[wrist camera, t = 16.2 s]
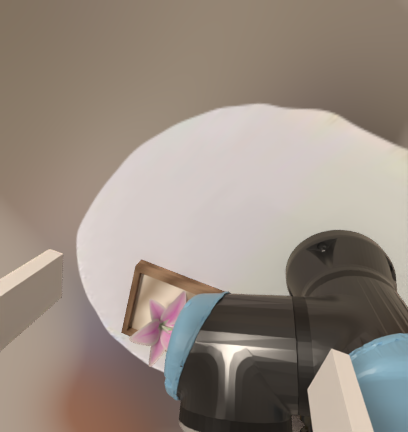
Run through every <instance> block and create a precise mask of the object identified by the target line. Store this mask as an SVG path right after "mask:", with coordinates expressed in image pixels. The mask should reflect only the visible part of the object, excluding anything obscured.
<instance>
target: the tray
mask: <svg viewBox="0 0 408 432" xmlns="http://www.w3.org/2000/svg"><path fill="white" fill-rule="evenodd" d="M183 291H185V292H186V303H187V302H188V300H189V299H191V298H192V297H193V296H195V295H198V294H203V293H222V292H224V291H222V290H219V289H216V288H214V287H211V286H209V285H206V284H203V283H201V282H198V281H196V280H193V279H190V278H188V277H185V276H183V275H180V274H177V273H175V272H172V271H170V270H167V269H164V268H162V267H159V266H157V265H154V264H151V263H149V262H146V261H144V260H141V261H140V262H139V263H138V264H137V265H136V267H135V271H134V276H133V281H132V285H131V290H130V295H129V299H128V304H127V309H126V314H125V318H124V323H123V328H122V332H121V333H124V334H126V335H128V336H132V335H133V334H134V333H135V332H137V331H138V330H139V329H141V328H142V327H144V326H145V325H147V324H148V323H149V322H151V321H152V320H151V315H150V307H149V300H150V299H153V300H155V301H157V302H158V303H160V304H161V305H163V306H164V307H165V308H167V307H168V306H169V305H170V304H171V303H172V302H173V301H174V300H175V299H176V298H177V297H178V296H179V295H180V293H182V292H183ZM165 351H166V350H165ZM166 352H167V351H166Z"/></svg>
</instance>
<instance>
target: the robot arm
mask: <svg viewBox="0 0 408 432" xmlns="http://www.w3.org/2000/svg"><path fill="white" fill-rule="evenodd" d="M62 273H63V254H62V253H60V252H57V251H54V250H51V249H49V250H47V251H45V252H44V253H42V254H40V255H39V256H37V257H36V258H34V259H32V260H31V261H29V262H28V263H26V264H24V265H23V266H21V267H19V268H18V269H16V270H14V271H13V272H11V273H10V274H8V275H7V276H5V277H3V278H2V279H0V351H1V350H2V349H4V348H5V347H6V346H7V345H8V344H9V343H10V342H11V341H12V340H14V339H15V338H16V337H17V336H18V335H19V334H21V333H22V332H23V331H24V330H25V329H26V328H27V327H29V326H30V325H31V324H32V323H33V322H34V321H35V320H37V319H38V318H39V317H40V316H41V315H42V314H43V313H44V312H46V311H47V310H48V309H49V308H50V307H51V306H52V305H54V304H55V303H56V302H57V301H58V300H59V299H60V298H62V277H63V274H62ZM286 283H287V288H288V291H289V294H290V296H278V295H246V294H231V293H230V292H222V293H203V294H198V295H195V296H193V297H192V298H191V299H189V300H188V302H187V303H186V304H185V305H184V307H183V309H182V310H181V311H180V313H179V315H178V317H177V320H176V322H175V324H174V327H173V330H172V333H171V336H170V340H169V344H168V348H167V353H166V359H165V369H164V375H165V377H166V380H165V388H166V391H167V393H168V394H169V395H170V396H171V397H173V398H174V399H175V400H180V401H181V403H180V414H179V425H180V426H181V428H182V429H183V431H184V432H292V420H291V416H292V415H301V416H308V417H311V421H312V429H313V432H408V307H407V305H406V304H405V303H404V301H403V300H402V298H401V297H400V296H399V294H398V293H397V284H396V274H395V270H394V267H393V264H392V262H391V260H390V259H389V257H388V256H387V254H386V253H385V252H384V251H383V250H382V248H381V247H380V246H379V245H378V244H377V243H376V242H374V241H373V240H371V239H370V238H368V237H366V236H364V235H362V234H359V233H356V232H352V231H345V230H332V231H326V232H321V233H318V234H315V235H313V236H311V237H309V238H307V239H306V240H304V241H303V242H302V243H300V244H299V245H298V246H297V247H296V248H295V249H294V251H293V252H292V254H291V255H290V257H289V259H288V262H287V266H286Z"/></svg>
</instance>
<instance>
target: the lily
mask: <svg viewBox="0 0 408 432" xmlns="http://www.w3.org/2000/svg"><path fill="white" fill-rule="evenodd" d="M185 304H186V292H185V291H183V292H182V293H180V295H179V296H178V297H177V298H176V299H175V300H174V301H173V302H172V303H171V304H170V305H169V306H168V307H167V308H165V307H164V306H163V305H161V304H160V303H158V302H157V301H155V300H153V299H150V300H149V307H150V315H151V320H152V321H151V322H149V323H148V324H147V325H145V326H144V327H142V328H141V329H139V330H138V331H137V332H135V333H134V334H133V335H132V336H131V337H130V338H129V340H130V341H131V342H134V343H137V344H141V345H146V346H151V350H150V358H149V367H150V366H152V365H154V364H155V363H156V362H157V360H158V359H159V358H160V357H161V356H162V355H163V353H164V352H165V350H166V351H167V348H168V344H169V340H170V336H171V333H172V330H173V327H174V324H175V322H176V320H177V317H178V315H179V313H180V311H181V310H182V309H183V307H184V305H185Z"/></svg>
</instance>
